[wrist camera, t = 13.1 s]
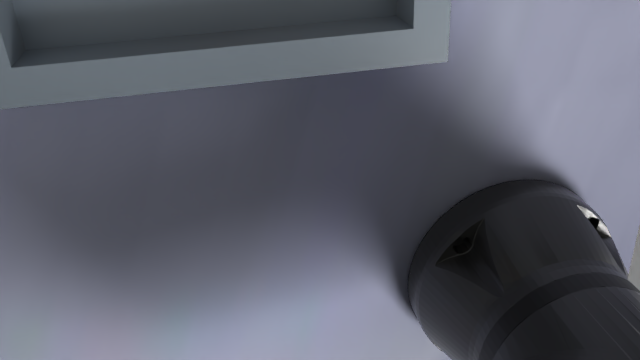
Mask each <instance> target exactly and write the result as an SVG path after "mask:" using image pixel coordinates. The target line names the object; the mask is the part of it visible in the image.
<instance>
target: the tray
mask: <svg viewBox="0 0 640 360" xmlns="http://www.w3.org/2000/svg"><path fill="white" fill-rule="evenodd" d="M450 13H451V0H0V110H1V109H11V108H20V107H29V106H39V105H48V104H58V103H67V102H76V101H86V100H95V99H104V98H114V97H123V96H133V95H142V94H151V93H161V92H170V91H180V90H189V89H198V88H208V87H217V86H227V85H236V84H245V83H255V82H264V81H274V80H283V79H292V78H302V77H311V76H320V75H330V74H339V73H349V72H358V71H367V70H377V69H386V68H396V67H405V66H414V65H424V64H433V63H443V62H448V48H449V30H450Z"/></svg>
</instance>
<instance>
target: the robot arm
mask: <svg viewBox="0 0 640 360" xmlns="http://www.w3.org/2000/svg"><path fill="white" fill-rule="evenodd" d="M408 293H409V299H410V303H411V306H412V309H413V311H414V313H415V315H416V317H417V319H418V321H419V323H420V325H421V327H422V329H423V331H424V332H425V334H426V335H427V337H428V338H429V339H430V340H431V342H432V343H433V344H434V345H435V346H436V347H437V348H438V349H440V350H441V351H443V352H444V353H445V354H446V355H448V356H449V357H450V358H451V359H452V360H640V225H639V230H638V234H637V239H636V243H635V248H634V252H633V257H632V261H631V266H630V270H629V275H628V273H627V271H626V268H625V266H624V264H623V262H622V259H621V257H620V255H619V253H618V250H617V248H616V246H615V244H614V241H613V240H612V238H611V235H610V233H609V230H608V229H607V227H606V225H605V223H604V222H603V220H602V219H601V218H600V216H599V215H598V214H597V213H596V212H595V211H594V210H593V209H592V208H591V207H590V206H589V205H587V204H586V203H585V202H584V201H583V200H582V199H581V198H579V197H578V196H577V195H576V194H575V193H573V192H572V191H570V190H568V189H567V188H565V187H563V186H560V185H557V184H554V183H551V182H546V181H539V180H519V181H512V182H506V183H502V184H498V185H495V186H492V187H489V188H486V189H484V190H482V191H479V192H477V193H475V194H473V195H471V196H469V197H468V198H466V199H464V200H463V201H461V202H460V203H458V204H457V205H455V206H454V207H453V208H452V209H450V210H449V211H448V212H447V213H446V214H444V215H443V216H442V217H441V218H440V219H439V220H438V221H437V222H436V223H435V224H434V226H433V227H432V228H431V229H430V230H429V232H428V233H427V234H426V236H425V237H424V239H423V240H422V242H421V244H420V245H419V247H418V249H417V251H416V253H415V256H414V258H413V261H412V264H411V268H410V272H409V278H408Z"/></svg>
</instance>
